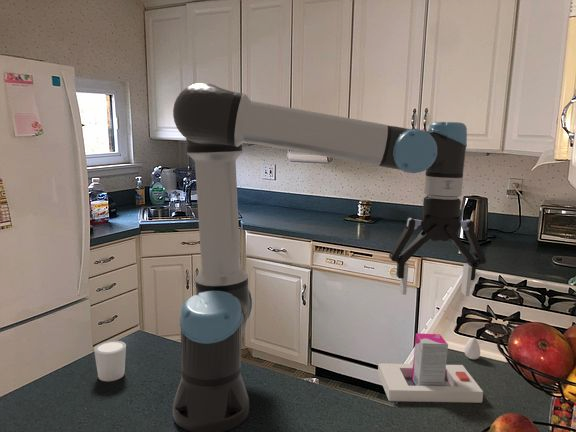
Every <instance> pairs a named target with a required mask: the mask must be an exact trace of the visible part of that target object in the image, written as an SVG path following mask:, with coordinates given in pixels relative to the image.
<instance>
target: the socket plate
mask: <svg viewBox="0 0 576 432" xmlns="http://www.w3.org/2000/svg"><path fill="white" fill-rule="evenodd" d="M377 368H378V369H377V374H378V377H379V379H380V383H381V385H382V387H383V389H384V392H385V395H386V397H387V399H388V402H417V403H418V402H419V403H421V402H423V403H425V402H427V403H431V402H433V403H477V404H478V403H483V398H484V391H483V389H482V387H480V385H479V384H478V383H477V381H475V379H474V378H473V376H472V375H471V374H470V373H469V372H468V370H467V369H466V367H465V366H464V365H463V364H446V370H445V380H444V386H415V385H414V383H413V382H412V370H413V363H378V366H377ZM399 398H400V399H399Z"/></svg>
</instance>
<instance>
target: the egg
mask: <svg viewBox="0 0 576 432" xmlns="http://www.w3.org/2000/svg"><path fill="white" fill-rule="evenodd" d="M463 351H464V354H465V357H467V358H468V359H470V360H477V359H479V358H480V356H481V348H480V344H479V342H478V340H477V339H476V338H475V337H471V338H470V339H469V340H468V341H467V342H466V343H465V346H464V350H463Z"/></svg>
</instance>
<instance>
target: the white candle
mask: <svg viewBox="0 0 576 432" xmlns="http://www.w3.org/2000/svg"><path fill="white" fill-rule="evenodd" d="M93 351H94V359H95V365H96V369H97V370H96V371H97V377H98V379H99V380H100V381H102V382H114V381H117V380H119V379H122V378H123V377H124V376H125V371H126V370H125V367H126V353H127V344H126V342H123V341H121V340H108V341H104V342H101V343H98V344H97V345H95V346H94V348H93Z"/></svg>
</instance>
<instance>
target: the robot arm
mask: <svg viewBox="0 0 576 432" xmlns="http://www.w3.org/2000/svg"><path fill="white" fill-rule="evenodd" d="M172 113H173V114H172V116H173V121H174V124H175V127H176V129H177V130H178V132H179V134H181V136H183V137H184V138H185V140H186V141H185V143H186V155H188V157H190V158H191V160H192V161H193V162H194V165H195V167H194V168H195V180H196V181H195V183H196V184H195V186H196V197H197V199H196V200H197V201H196V202H197V215H198V216H197V217H198V232H199V233H198V234H199V248H200V249H199V250H200V263H201V264H200V265H201V266H200V268H201V270H200V272H199V273H198V274H197V275H195V278H194V281H195V282H194V283H195V295H194V294H193V295H191V296H189V297H188V299H186V300H185V301H184V303H182V306H181V308H180V309H181V311H180V316H179V327H180V358H181V360H180V361H181V362H180V365H181V370H180V371H181V375H180V376H181V377H180V381H179V384H178V387H177V390H176V393H175V396H174V399H173V403H172V417H173V421H174V422H175V424H176V425H177V426H178V427H179V428H181V429H183V430H185V431H187V432H227V431H230V430H232V429H235V428H236V427H238V426H240V425H241V424H242V423H243V422H244V421H246V419H247V418H248V416H249V414H250V398H249V395H248V391H247V389H246V386H245V382H244V380H243V377H242V373H241V371H242V370H241V369H242V366H241V365H242V362H241V361H242V337H243V334H244V331H245V329H246V325H247V322H248V319H249V317H250V315H251V312H252V308H253V298H252V295H251V294H252V293H251V291H250V289H249V276H248V273H247V272H246V271H245V270H243V268H242V267H241V266H242V265H241V248H240V227H239V226H240V224H239V208H238V207H239V206H238V204H239V203H238V186H237V185H238V184H237V183H238V182H237V181H238V179H237V162H236V161H237V159H238V158H239V156H240V155H241V154H242V153H243V144H245V143H246V144H252V145H258V146H264V147H268V148H276V149H281V150H286V151H287V150H288V151H293V152H296V153H297V152H298V153H303V154H308V155H314V156H315V155H316V156H321V157H326V158H327V157H328V158H332V159H339V160H343V161H350V162H353V163H360V164H366V165H372V166H374V167H382V168H387V169H392V170H397V171H398V170H399V171H403V172H405V173H409V174H418V173H422V172H425V181H424V190H423V193H424V194H425V196H424V197H423V203H422V215H421V217H420V219H414V218H413V217H410V216H409V217H407V218H406V222H405V226H404V229H403V231H402V233H401V234H400V235H399V238H398V239H397V241H396V242H395V244H394V245H393V248H392V249H391V251H390V253H389V254H388V258H389V259H390V260H391V261H392V262H395V263H396V277H397V278H398V279H399V291H400V293H401V295H406V296H407V290H408V278H409V276H408V275H409V264H408V263H407V262H408V261H409V260H410V259H411V257H413V256H414V255H415V254H416V253H417V252H418V250H419V249H420V248H421V247H422V246H423V245H424V244H425V243H427V242H428V241H429V240H431V241H434V242H435V241H443V242H448V241H449V240H450V241H451V242H452V243H453V244H454V246H455V248H456V249H457V250H458V252H459V253H460V255H462V257H463V258H464V259H465V261H466V262H467V263H463V270H462V277H461V278H462V279H461V288H460V290H461V291H460V292H461V294H463V295H464V296H465V297H470V289H471V283H472V281H474V280H475V279H476V271H477V268H479V266H480V265H481V264H482V265H485V264H486V262H487V260H486V257H485V254H484V251H483V249H482V247H481V245H480V242H479V239H478V237H477V234H476V232H475V221H473V220H471V219H468V218H466V219H464V220H460V215H461V203H462V200H461V198H459V197H461V196H462V194H463V193H462V192H463V181H464V171H465V170H464V169H465V161H466V151H467V141H468V140H467V137H468V128H467V126H466V124H465V123H463V122H453V121H433V122H430V124H429V125H428V129H427V130H423V129H419V128H407V127H406V128H405V127H400V126H393V125H389V124H383V123H378V122H373V121H367V120H361V119H356V118H350V117H344V116H338V115H334V114H328V113H321V112H317V111H311V110H305V109H299V108H294V107H293V108H292V107H289V106H284V105H282V106H281V105H278V104H277V105H276V104H271V103H265V102H260V101H254V100H251V99H250V98H249V96H248V95H247V94H246V93H242V92H236V91H232V90H228V89H226V88H222V87H220V86H217V85H216V84H213V83H208V82H198V83H193V84H192V85H188V86H186V87H185V88H184V89H183V90H182V91H181V92H180V93H179V94H178V96H176V99H175V100H174V103H173V109H172ZM419 226H420V228H421V229H422V230H421V231H420V232H419V234H417V237H416V238H415V239H414V240H413V241H412V242H411V243H410V244H409V245H408V246H407V247H406V245H407V243H408V242H409V240H410V238H411V237H412V235H413V233H414V230H416V229H418V227H419ZM460 228H461V229H462V230H463V231H464V233H465V236H466V238H467V240H468V243H469V246H470V248H471V250H472V253H473V255H474V256H473V255H472V253H471V252H470V251H469V250H468V248H467V247H466V245H464V243H463V241H462V240H461V238H460V237H459V235H458V234H457V232H458V230H459V229H460ZM405 247H406V248H405ZM404 248H405V249H404Z"/></svg>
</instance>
